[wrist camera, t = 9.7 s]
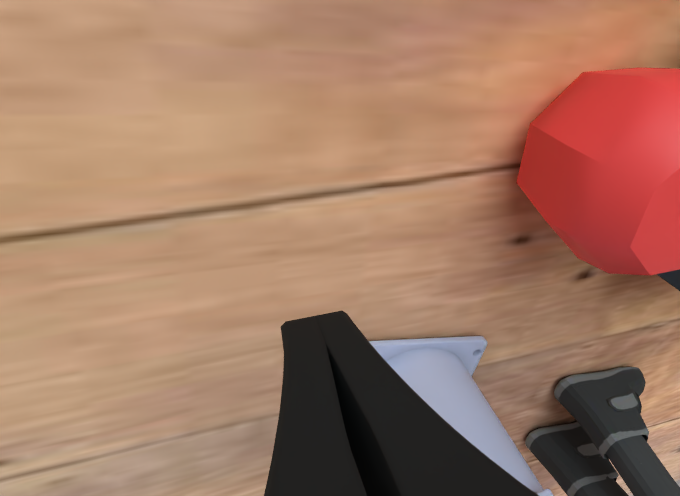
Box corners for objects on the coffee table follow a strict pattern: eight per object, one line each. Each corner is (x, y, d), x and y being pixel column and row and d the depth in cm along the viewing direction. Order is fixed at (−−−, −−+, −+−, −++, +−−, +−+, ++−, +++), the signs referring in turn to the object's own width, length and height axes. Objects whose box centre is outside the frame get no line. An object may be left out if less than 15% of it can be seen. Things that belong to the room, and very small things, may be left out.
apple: (561, 11, 17) (786, 52, 10) (685, 80, 20) (913, 144, 14) (460, 196, 20) (581, 311, 14) (579, 229, 24) (722, 335, 17)
